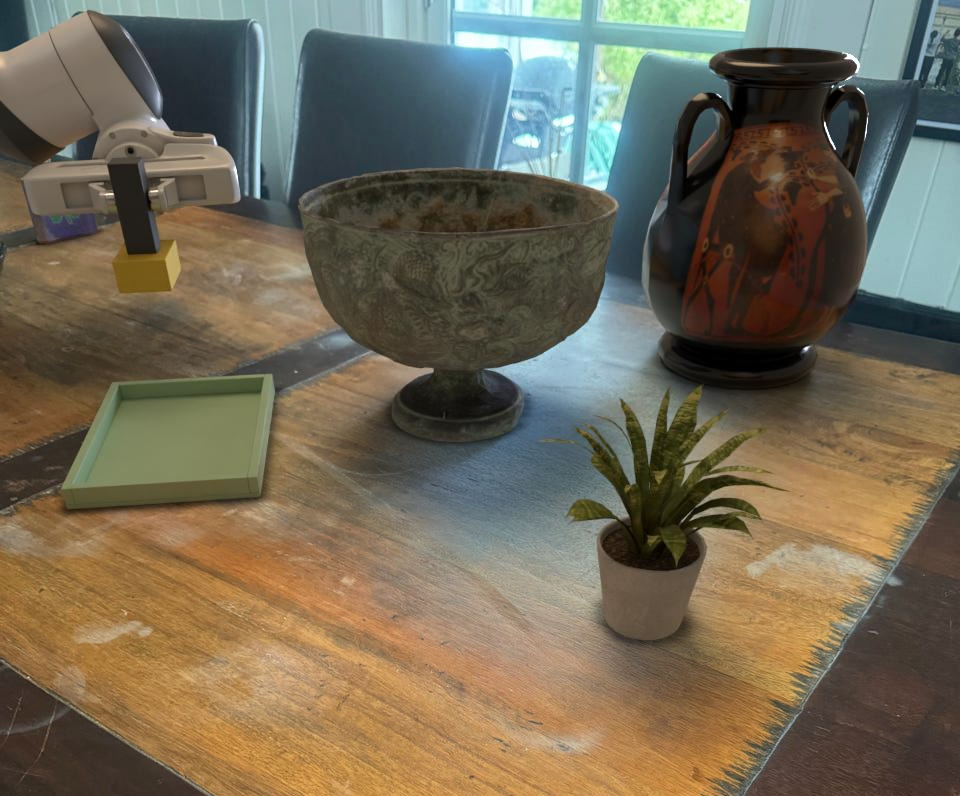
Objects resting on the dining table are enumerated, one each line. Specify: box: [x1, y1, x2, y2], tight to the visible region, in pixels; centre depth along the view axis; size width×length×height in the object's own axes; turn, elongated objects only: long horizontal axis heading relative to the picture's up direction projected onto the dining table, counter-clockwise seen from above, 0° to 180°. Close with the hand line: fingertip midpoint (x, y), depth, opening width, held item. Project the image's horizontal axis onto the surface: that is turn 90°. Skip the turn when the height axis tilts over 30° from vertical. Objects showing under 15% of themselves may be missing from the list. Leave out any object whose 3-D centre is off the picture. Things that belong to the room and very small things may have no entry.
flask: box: [20, 158, 99, 245], centre depth 137 cm, size 9×3×11 cm, turn 134°
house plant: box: [535, 383, 795, 641], centre depth 59 cm, size 14×14×16 cm
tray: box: [60, 373, 276, 510], centre depth 85 cm, size 16×22×2 cm
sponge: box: [107, 157, 182, 294], centre depth 91 cm, size 5×7×11 cm
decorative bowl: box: [297, 166, 620, 443], centre depth 85 cm, size 26×26×20 cm
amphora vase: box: [640, 46, 870, 390], centre depth 91 cm, size 22×22×28 cm
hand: (133, 203), depth 89 cm, fingers closed on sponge, 3 cm apart
